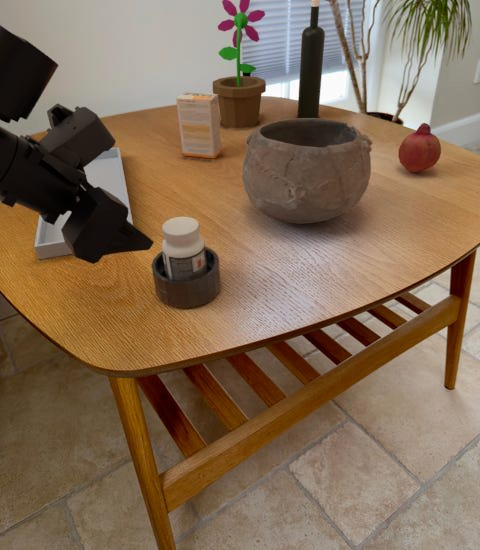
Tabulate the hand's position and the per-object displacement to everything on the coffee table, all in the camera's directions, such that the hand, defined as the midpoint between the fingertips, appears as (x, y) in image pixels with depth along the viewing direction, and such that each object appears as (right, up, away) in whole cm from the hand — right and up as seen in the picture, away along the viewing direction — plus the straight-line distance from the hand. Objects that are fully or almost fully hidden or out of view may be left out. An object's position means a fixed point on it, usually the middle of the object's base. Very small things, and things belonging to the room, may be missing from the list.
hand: (134, 228), depth 51 cm
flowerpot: (+12, +37, +69) cm, 79 cm away
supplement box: (+4, +23, +50) cm, 55 cm away
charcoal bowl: (+5, -7, +10) cm, 13 cm away
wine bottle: (+32, +39, +71) cm, 87 cm away
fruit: (+49, +16, +39) cm, 65 cm away
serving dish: (-17, +10, +33) cm, 39 cm away
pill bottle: (+5, -7, +10) cm, 13 cm away
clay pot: (+24, +5, +26) cm, 36 cm away
